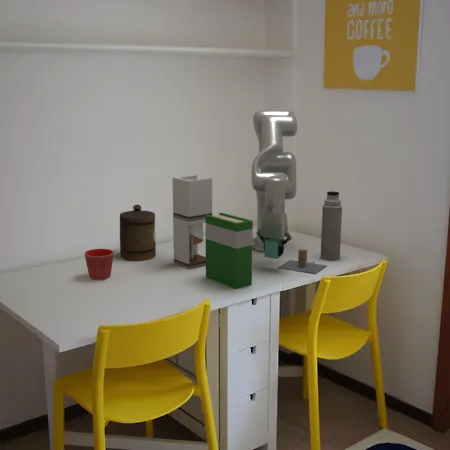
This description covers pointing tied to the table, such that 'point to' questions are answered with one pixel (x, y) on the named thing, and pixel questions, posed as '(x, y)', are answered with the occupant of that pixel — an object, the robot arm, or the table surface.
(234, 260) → the hardback book
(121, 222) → the wooden container
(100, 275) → the flower pot
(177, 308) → the table surface
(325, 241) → the thermos bottle
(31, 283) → the table surface
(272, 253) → the teal rectangular block
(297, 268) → the post stand
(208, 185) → the white coffee maker
